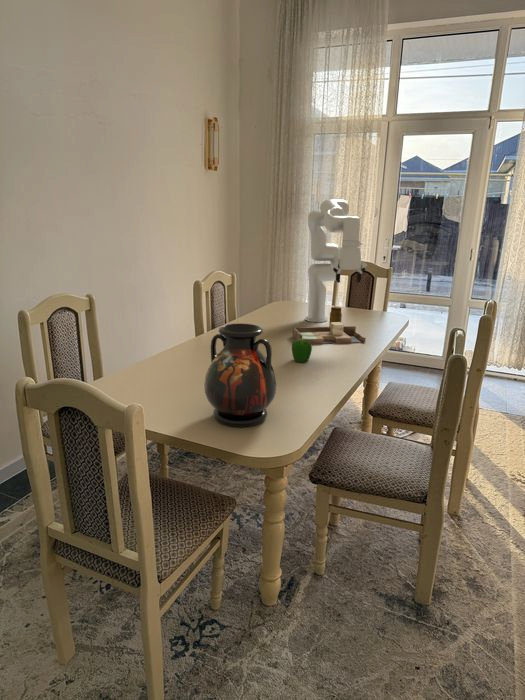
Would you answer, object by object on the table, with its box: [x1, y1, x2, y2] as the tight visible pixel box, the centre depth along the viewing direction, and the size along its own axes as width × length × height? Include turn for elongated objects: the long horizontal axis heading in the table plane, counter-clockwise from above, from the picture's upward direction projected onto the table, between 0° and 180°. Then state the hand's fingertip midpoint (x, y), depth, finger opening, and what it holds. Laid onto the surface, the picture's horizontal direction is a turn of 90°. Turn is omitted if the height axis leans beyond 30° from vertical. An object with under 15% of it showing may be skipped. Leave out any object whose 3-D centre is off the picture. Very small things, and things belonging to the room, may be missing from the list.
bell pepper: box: [291, 338, 313, 363], centre depth 204 cm, size 8×8×10 cm
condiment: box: [328, 306, 343, 327], centre depth 256 cm, size 7×8×12 cm
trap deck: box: [292, 325, 367, 345], centre depth 238 cm, size 15×32×4 cm, turn 100°
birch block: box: [330, 321, 345, 335], centre depth 240 cm, size 5×5×5 cm
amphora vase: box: [203, 323, 277, 428], centre depth 146 cm, size 22×22×28 cm
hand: (348, 282), depth 230 cm, fingers open, 9 cm apart
